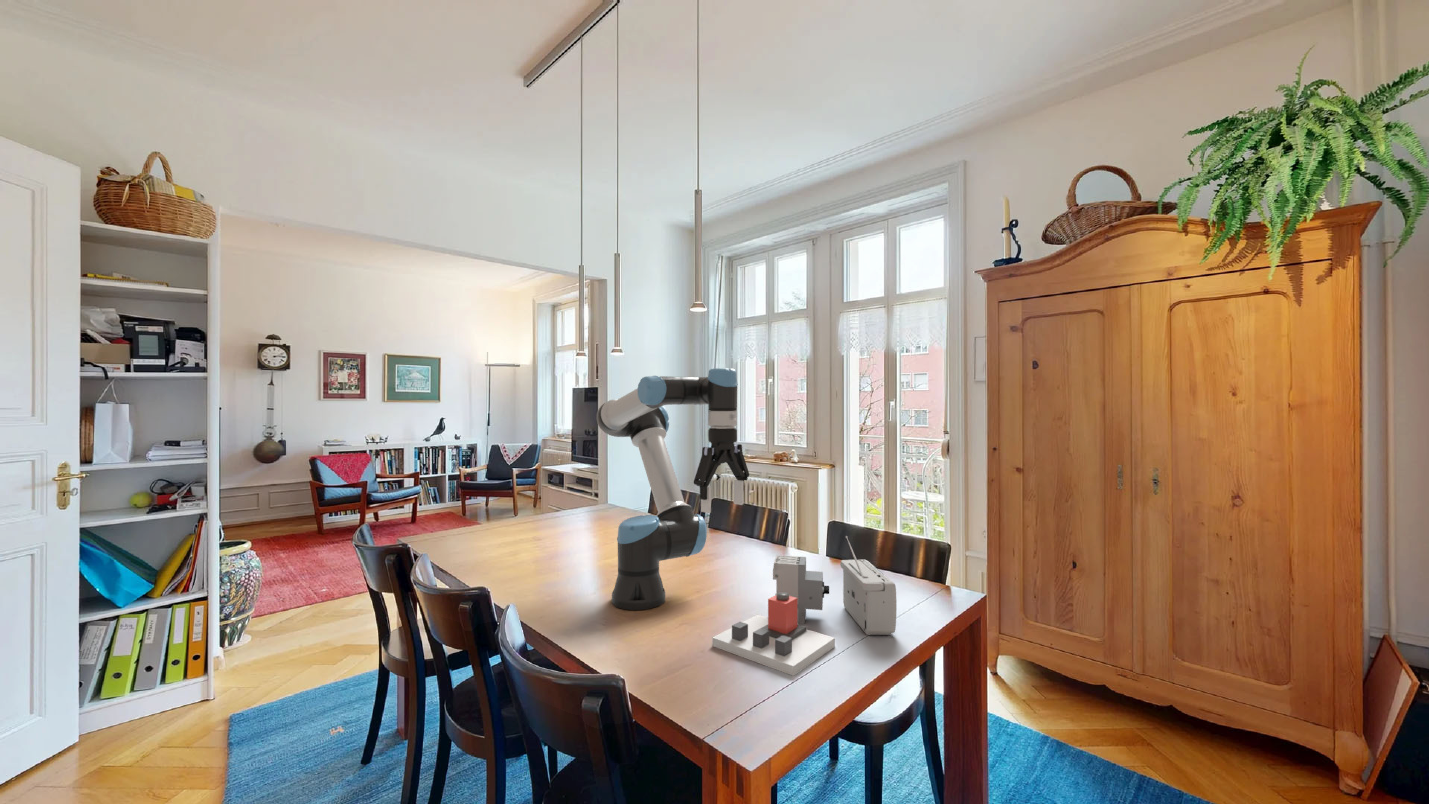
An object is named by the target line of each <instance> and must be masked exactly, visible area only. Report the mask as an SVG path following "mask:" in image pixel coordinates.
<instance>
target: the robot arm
mask: <svg viewBox="0 0 1429 804" xmlns="http://www.w3.org/2000/svg"><path fill="white" fill-rule="evenodd" d="M737 377H738V376H737V371H736V369H734V368H728V367H725V368H724V367H721V368H719V367H718V368H717V367H716V368H711V369H709V370H708V373H707V376H668V375H667V376H666V375H665V376H663V375H649V376H643V377H642V378H640V380H639V383H638V385H637V388H636V389H634V390H632V391H631V392H628V393H626V394H625V395H623V396H622V397H620V398H618V399H615V398H614V399H610V400H607V401H606V402H604V403H603V404H602V405H600V406H599V408H598V410H597V412H596V422H597V425H598V427H599V429H601V431H602V432H603V433H605V434H607V435H608V436H612V437H616V438H625V437H626V438H628V437H629V438H630V440H631V443H632V445H633V446H634V447H636V448H638V450H639V453H640V457H641V460H642V464H643V467H644V470H645V474H646V476H647V480H648V483H649V487H650V489H651V490H650V491H651V493H652V495H653V496H652V497H653V500H654V503H655V506H656V510H657V514H656V515H653V514H645V515H635V516H632V517H630V518H627V519H624V520H623V521H622V522H620V523H619V526H618V528H617V529H618V530H617V538H616V540H617V577H616V579H615V580H616V581H615V584H614V588H613V591H612V593H611V604H612V605H613V606H614V607H616V608H618V609H621V610H628V611H643V610H649V609H653V608H657V607H659V606H661V605H663V604H664V603H665V602H666V590H665V588H664V583H663V581H662V577H661V574H660V562H661V561H667V560H673V559H678V558H684V557H686V558H687V557H690V556H693V555H696V554H699V553H701V552H702V551H703V549H704V547H705V545H706V543H707V536H708V535H707V533H708V532H707V524H706V521H705V519H704V517H703V516H701V514H698V513H694V510H693V507H692V506H691V505H690V504H688V503H686V502H685V500H684V496H683V493H682V490H681V487H680V484H679V482H678V478H677V475H676V472H675V469H674V466H673V463H672V460H671V457H670V455H669V451H668V447H667V444H666V442H665V439H666V436H667V432H668V431H669V428H670V422H669V420H670V417H669V413H668V411H667V409H666V407H665V406H667V405H694V406H695V405H700V406H701V405H708V414H707V416H708V417H707V419H708V420H707V422H708V423H707V425H708V426H709V428H708V430H707V433H708V435H707V436H708V443H710V444H711V445H710V447H708V446H703V447H702V448H701V449H702V450H701V457H700V461H699V464H698V467H697V470H696V473H695V476H694V480H693V484H694V485H695V486H697V487H699V499H700V512H701V513H706V514H710V513H712V487H711V486H709V485H710V484H711V481H712V480H713V478H714V476H715V474H716V472H717V470H718V468H719V467H720V466H721V465H722V464H725V463H726V464H727V466H728V467H729V469H730V470H731V473H732V474H733V477H734V479H733V504H734V505H739V506H743V505H744V490H745V481H748V478H749V476H750V472H749V469H748V465H747V463H746V459H745V456H744V453H743V445H742V444H741V443H736V442H738V429H737V425H738V422H737V420H738V418H737V417H738V412H737V409H738V380H737Z"/></svg>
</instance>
